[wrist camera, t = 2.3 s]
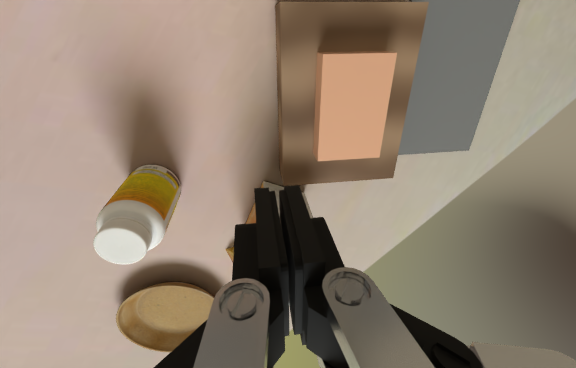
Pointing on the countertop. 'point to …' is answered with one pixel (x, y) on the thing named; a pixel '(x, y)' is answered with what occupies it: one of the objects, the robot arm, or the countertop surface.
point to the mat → (454, 72)
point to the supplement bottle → (137, 215)
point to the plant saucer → (163, 315)
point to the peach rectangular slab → (351, 103)
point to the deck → (302, 79)
